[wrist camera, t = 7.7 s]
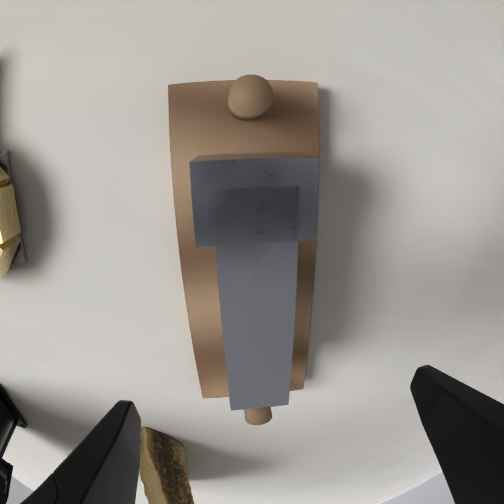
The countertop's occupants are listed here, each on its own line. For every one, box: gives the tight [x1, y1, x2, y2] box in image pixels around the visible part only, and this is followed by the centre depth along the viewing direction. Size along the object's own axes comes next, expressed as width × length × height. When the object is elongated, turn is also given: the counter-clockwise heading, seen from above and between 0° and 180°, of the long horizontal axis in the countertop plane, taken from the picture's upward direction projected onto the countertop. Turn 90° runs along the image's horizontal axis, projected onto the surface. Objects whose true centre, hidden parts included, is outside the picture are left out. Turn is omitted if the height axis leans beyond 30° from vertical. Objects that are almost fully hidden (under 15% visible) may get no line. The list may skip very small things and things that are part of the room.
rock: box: [140, 427, 194, 504], centre depth 20 cm, size 10×8×10 cm
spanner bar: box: [189, 153, 319, 410], centre depth 14 cm, size 12×4×4 cm, turn 1°
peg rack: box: [168, 75, 319, 425], centre depth 15 cm, size 19×7×4 cm, turn 1°
